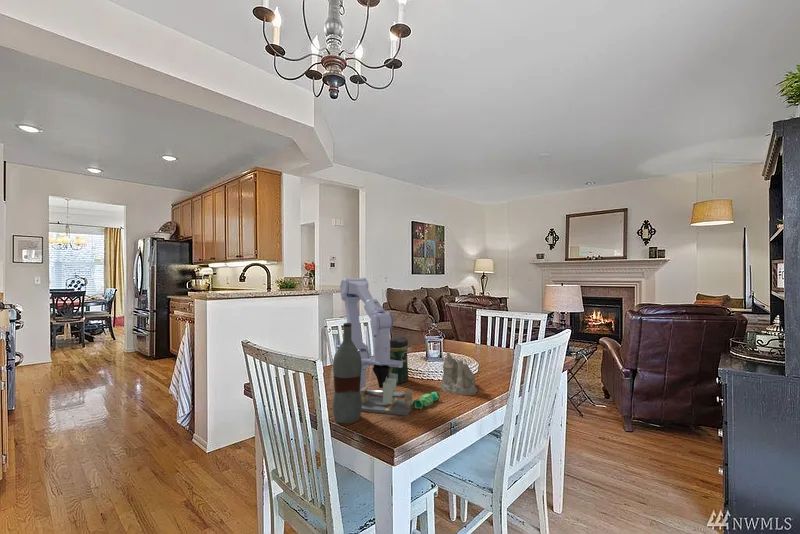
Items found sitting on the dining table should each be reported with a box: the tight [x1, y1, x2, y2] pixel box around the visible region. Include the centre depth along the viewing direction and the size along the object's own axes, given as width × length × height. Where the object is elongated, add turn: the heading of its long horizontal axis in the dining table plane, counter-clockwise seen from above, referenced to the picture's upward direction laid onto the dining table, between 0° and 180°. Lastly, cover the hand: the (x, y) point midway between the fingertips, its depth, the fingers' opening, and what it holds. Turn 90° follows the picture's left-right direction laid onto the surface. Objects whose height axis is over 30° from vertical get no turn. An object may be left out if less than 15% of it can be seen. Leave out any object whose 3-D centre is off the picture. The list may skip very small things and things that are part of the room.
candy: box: [412, 391, 441, 410], centre depth 133 cm, size 12×3×4 cm
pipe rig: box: [360, 386, 415, 416], centre depth 130 cm, size 18×12×6 cm, turn 76°
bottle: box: [332, 322, 362, 424], centre depth 120 cm, size 9×9×30 cm
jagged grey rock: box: [440, 351, 478, 396], centre depth 152 cm, size 16×16×15 cm
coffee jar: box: [386, 336, 409, 384], centre depth 161 cm, size 10×8×19 cm
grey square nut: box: [382, 378, 397, 404], centre depth 130 cm, size 3×6×7 cm, turn 166°
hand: (381, 387), depth 131 cm, fingers closed
